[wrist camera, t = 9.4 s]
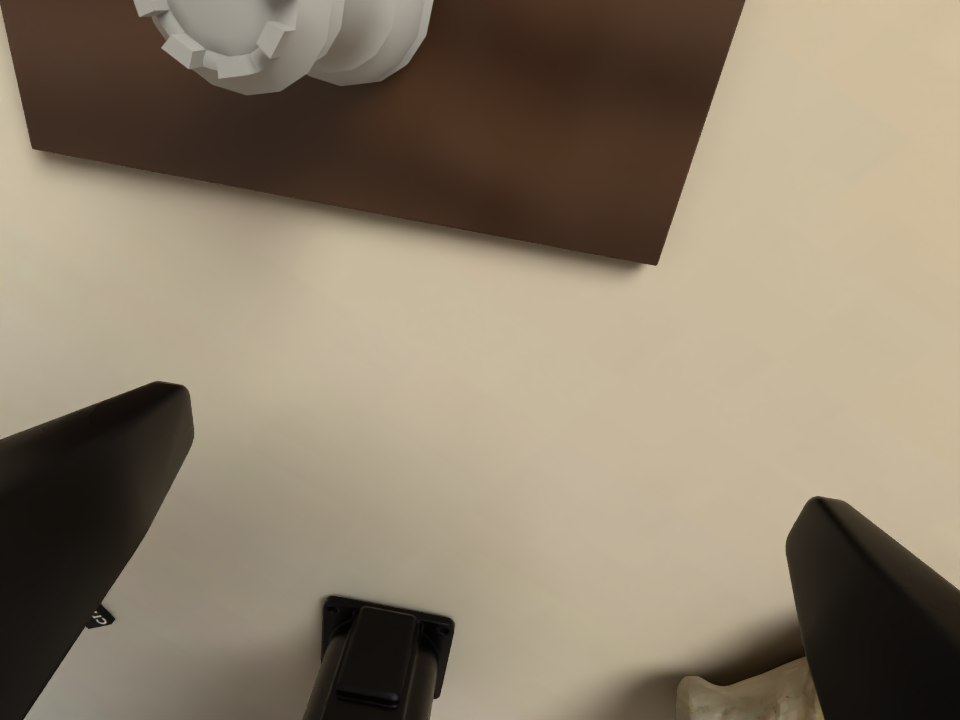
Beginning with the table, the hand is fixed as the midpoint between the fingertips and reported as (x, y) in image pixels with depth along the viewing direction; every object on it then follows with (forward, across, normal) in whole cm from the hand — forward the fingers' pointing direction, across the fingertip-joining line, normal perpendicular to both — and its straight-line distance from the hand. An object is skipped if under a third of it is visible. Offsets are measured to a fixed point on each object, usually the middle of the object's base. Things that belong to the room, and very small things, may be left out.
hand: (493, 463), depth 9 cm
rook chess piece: (+12, +6, -5) cm, 14 cm away
